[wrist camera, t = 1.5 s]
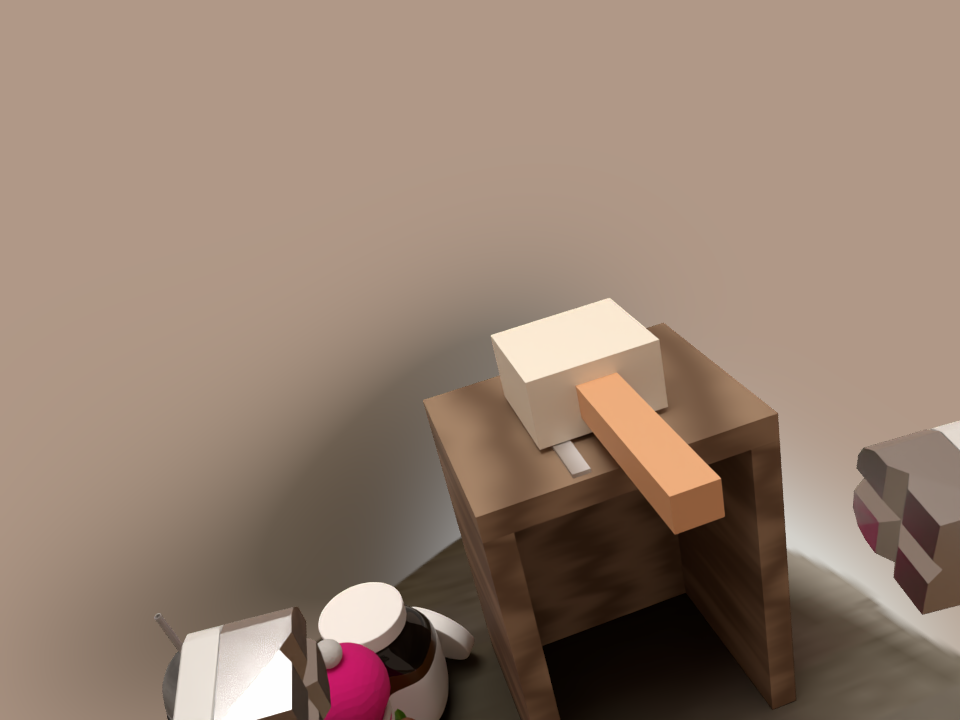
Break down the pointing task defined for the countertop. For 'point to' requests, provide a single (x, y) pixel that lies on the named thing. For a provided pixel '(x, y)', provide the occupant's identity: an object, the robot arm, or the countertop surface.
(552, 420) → the cream block mallet
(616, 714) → the countertop surface
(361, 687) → the pepper mill
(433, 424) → the walnut stand
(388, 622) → the spread jar
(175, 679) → the beverage cup
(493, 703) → the countertop surface
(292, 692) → the robot arm
